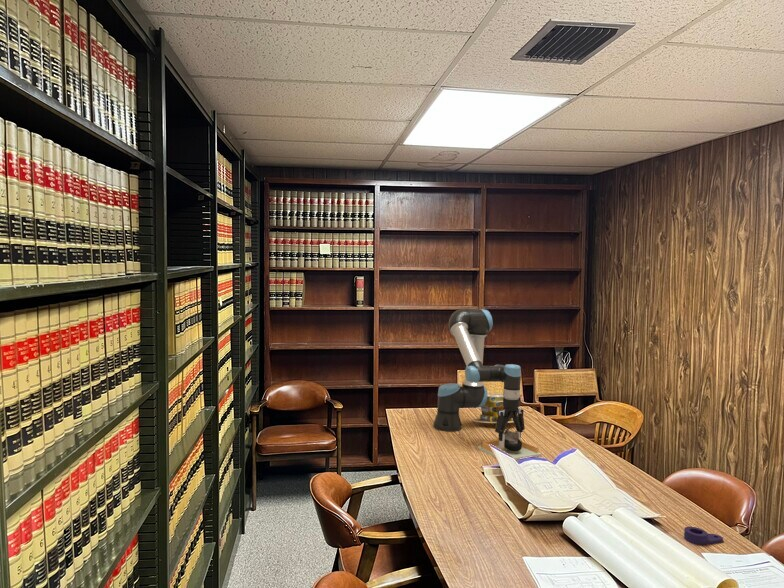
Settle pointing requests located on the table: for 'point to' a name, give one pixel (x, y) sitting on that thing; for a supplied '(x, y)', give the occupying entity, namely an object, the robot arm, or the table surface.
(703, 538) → the lever
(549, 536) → the table surface
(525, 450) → the shallow square tray
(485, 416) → the stacked cans on tray
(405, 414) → the table surface
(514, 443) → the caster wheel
